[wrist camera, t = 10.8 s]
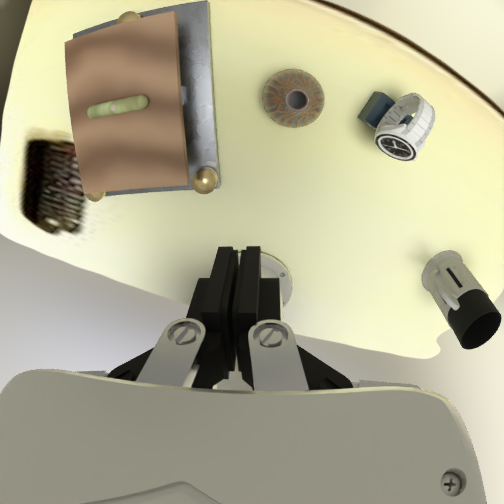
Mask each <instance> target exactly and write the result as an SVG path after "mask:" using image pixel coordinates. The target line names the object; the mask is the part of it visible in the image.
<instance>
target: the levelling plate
mask: <svg viewBox="0 0 504 504" xmlns="http://www.w3.org/2000/svg"><path fill="white" fill-rule="evenodd" d="M65 62H66V78H67V90H68V100H69V109H70V117H71V125H72V132H73V138H74V144H75V150H76V156H77V162H78V167H79V172H80V177H81V182H82V186H83V191H84V194H90V193H99V192H108V191H118V190H129V189H140V188H153V187H166V186H182V185H188V184H189V182H190V178H189V169H188V160H187V150H186V140H185V129H184V118H183V106H182V93H181V79H180V63H179V44H178V20H177V13H176V12H175V11H171V12H166V13H161V14H156V15H151V16H147V17H143V18H139V19H135V20H131V21H127V22H124V23H120V24H116V25H113V26H110V27H107V28H103V29H100V30H97V31H94V32H91V33H88V34H86V35H83V36H80V37H77V38H75V39H72V40H70V41H67V42H65Z"/></svg>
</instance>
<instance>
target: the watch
mask: <svg viewBox="0 0 504 504" xmlns="http://www.w3.org/2000/svg"><path fill="white" fill-rule="evenodd" d="M395 102H396V103H395ZM395 102H394V101H393V100H392V99H390V98H389V97H388V96H387V95H385V94H384V93H382V92H374V93H373V95H372V96H371V98H370V99H369V101H368V102H367V104H366V105H365V107H364V108H363V110H362V111H361V113H360V114H359V116H358V118H359V119H361V120H362V121H363V122H365V123H366V124H367V125H369V126H370V127H371V128H373V129H374V130H375V131H376V132H375V136H374V139H373V140H374V141H375V143H376V145H377V147H378V148H379V149H380V150H381V151H382V152H384V153H385V154H387V155H388V156H390V157H392V158H395V159H398V160H401V161H412V160H413V161H414V160H416V159H417V154H418V152H419V151H420V150H421V148H422V147H423V146H424V144H425V141H424V140H425V139H426V138H427V136H428V135H429V133H430V131H431V129H432V127H433V124H434V121H435V111H434V108H433V107H432V106H431V105H430V104H429V103H428V102H427V101H426V100H425V99H424V98H423V97H421V96H420V95H419V94H416V93H411V94H408V95H405V96H403V97H402V98H399V99H398V100H397V101H395ZM415 112H416V114H415V116H414V117H412V116H411V114H413V113H415ZM425 134H426V135H427V136H426V135H425Z"/></svg>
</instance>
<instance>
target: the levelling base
mask: <svg viewBox="0 0 504 504" xmlns="http://www.w3.org/2000/svg"><path fill="white" fill-rule="evenodd" d="M171 11H175V12H176V13H177V20H178V44H179V63H180V79H181V93H182V106H183V118H184V129H185V140H186V150H187V160H188V169H189V178H190V182H189V184H188V185H182V186H166V187H153V188H140V189H129V190H118V191H108V192H99V193H90V194H86V196H87V198H88V199H89V200H91V201H93V202H97V201H99V200H100V199H101V198H103V197H104V196H112V195H123V194H134V193H147V192H161V191H176V190H195V191H196V192H198V193H200V194H208V193H210V192H212V191H213V189H216V188H219V187H220V185H221V184H220V172H219V159H218V146H217V132H216V118H215V103H214V87H213V70H212V51H211V31H210V8H209V2H208V1H207V0H206V1H199V2H192V3H185V4H180V5H174V6H169V7H164V8H159V9H154V10H150V11H146V12H141V13H135V12H132V11H129V12H125V13H123V14H122V15H121V16H120V17H119V18H118V19H116V20H112V21H109V22H106V23H103V24H100V25H97V26H94V27H91V28H88V29H85V30H83V31H80V32H77V33H75V34H73V39H75V38H77V37H80V36H83V35H86V34H88V33H91V32H94V31H97V30H100V29H103V28H107V27H110V26H113V25H116V24H120V23H124V22H127V21H131V20H135V19H139V18H143V17H147V16H151V15H156V14H161V13H166V12H171Z"/></svg>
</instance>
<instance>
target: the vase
mask: <svg viewBox="0 0 504 504" xmlns="http://www.w3.org/2000/svg"><path fill="white" fill-rule="evenodd" d="M263 105H264V108H265V110H266V112H267V113H268V115H269V116H270V117H271V118H272V119H273V120H274V121H275V122H277V123H279V124H280V125H283V126H286V127H292V128H297V127H303V126H306V125H308V124H310V123H312V122H313V121H315V120H316V119H317V118H318V116H319V115H320V113H321V112H322V109H323V106H324V93H323V89H322V87H321V85H320V84H319V82H318V81H317V80H316V79H315V78H314V77H313V76H312V75H310V74H309V73H307V72H304V71H301V70H296V69H289V70H284V71H281V72H279V73H277V74H275V75H274V76H272V77H271V78H270V79H269V80H268V82H267V83H266V85H265V87H264V90H263Z"/></svg>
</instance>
